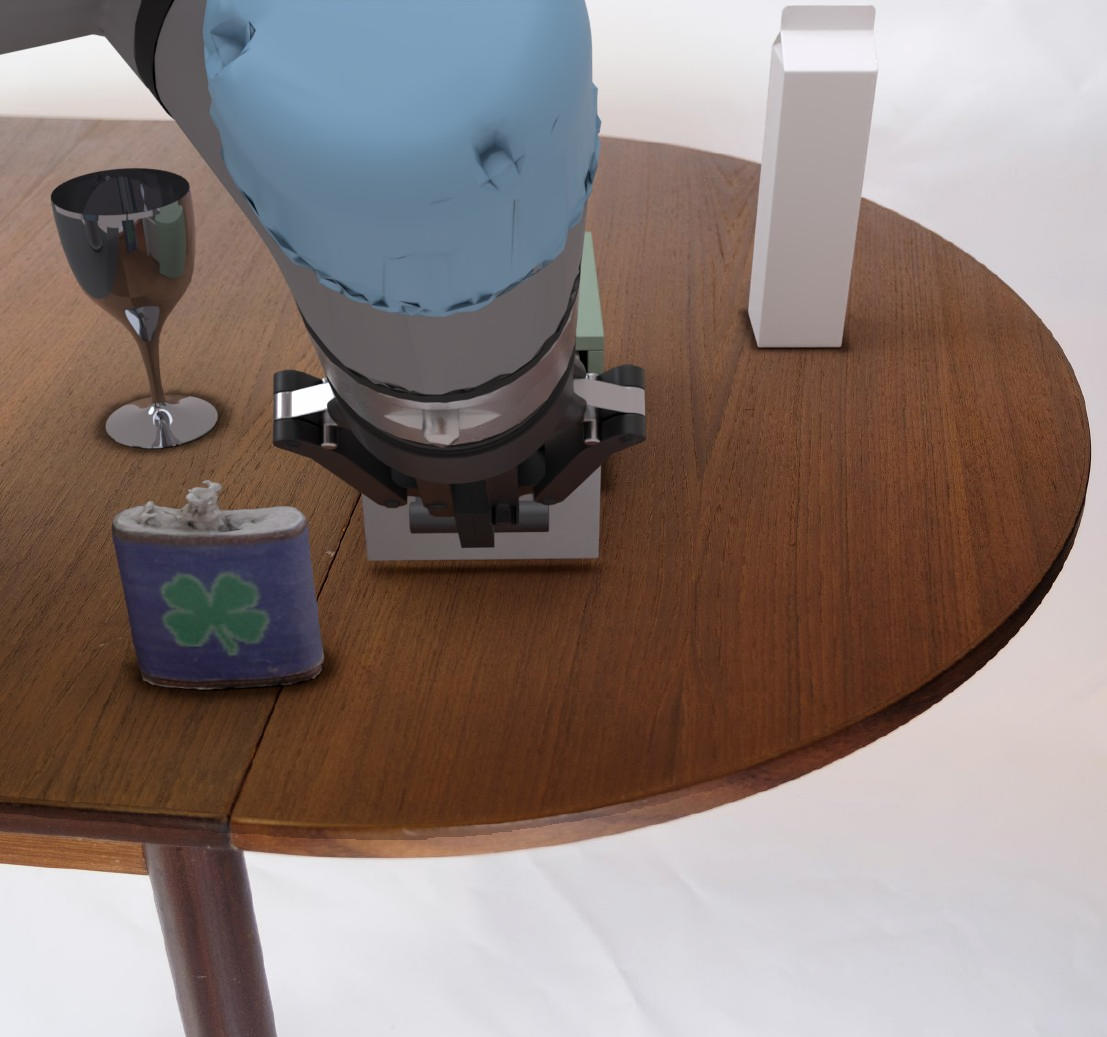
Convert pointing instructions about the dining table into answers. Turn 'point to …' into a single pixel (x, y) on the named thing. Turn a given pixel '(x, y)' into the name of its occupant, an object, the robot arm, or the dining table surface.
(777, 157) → the milk
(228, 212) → the dining table surface
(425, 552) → the drawer
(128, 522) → the flask
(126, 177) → the wine glass
